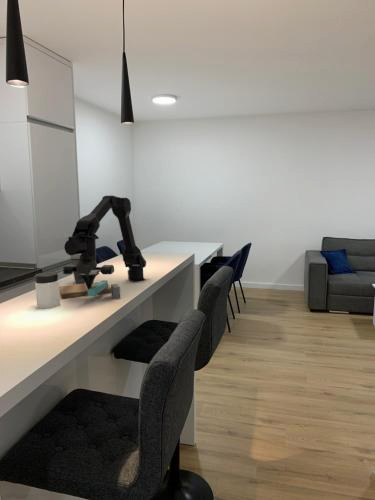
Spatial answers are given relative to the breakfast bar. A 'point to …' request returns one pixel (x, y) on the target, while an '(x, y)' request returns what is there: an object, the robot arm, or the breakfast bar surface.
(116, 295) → the post
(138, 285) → the breakfast bar surface
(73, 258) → the beverage cup
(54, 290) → the jar
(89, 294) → the leg
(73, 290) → the board
